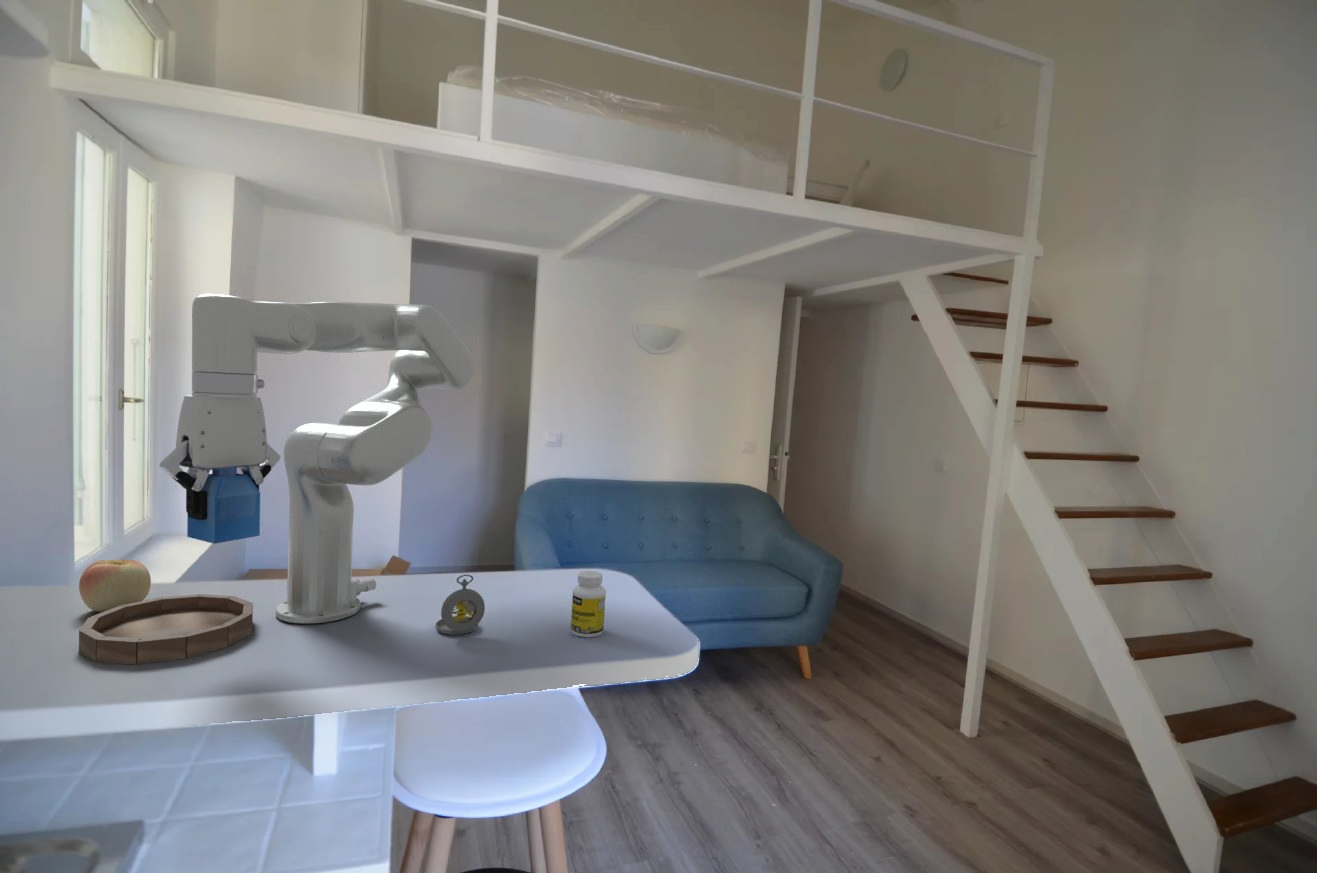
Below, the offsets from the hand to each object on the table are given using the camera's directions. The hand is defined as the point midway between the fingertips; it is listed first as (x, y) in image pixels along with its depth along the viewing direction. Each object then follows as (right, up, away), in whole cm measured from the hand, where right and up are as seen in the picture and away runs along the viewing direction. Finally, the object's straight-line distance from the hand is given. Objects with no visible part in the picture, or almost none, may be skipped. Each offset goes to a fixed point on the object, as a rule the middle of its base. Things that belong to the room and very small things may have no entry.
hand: (223, 513), depth 93 cm
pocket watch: (+29, -21, +13) cm, 38 cm away
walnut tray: (-11, -18, +5) cm, 22 cm away
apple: (-26, -17, +14) cm, 34 cm away
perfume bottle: (0, -3, 0) cm, 3 cm away
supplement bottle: (+49, -22, +16) cm, 56 cm away
